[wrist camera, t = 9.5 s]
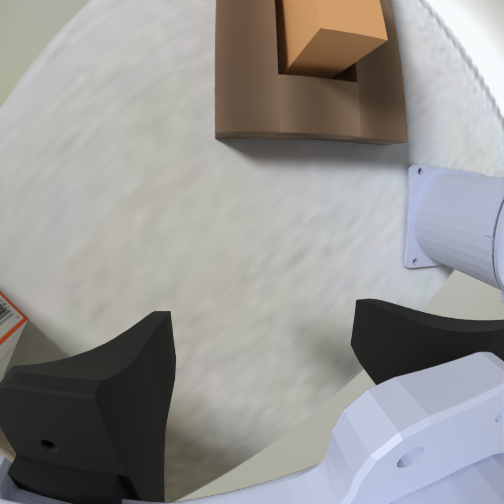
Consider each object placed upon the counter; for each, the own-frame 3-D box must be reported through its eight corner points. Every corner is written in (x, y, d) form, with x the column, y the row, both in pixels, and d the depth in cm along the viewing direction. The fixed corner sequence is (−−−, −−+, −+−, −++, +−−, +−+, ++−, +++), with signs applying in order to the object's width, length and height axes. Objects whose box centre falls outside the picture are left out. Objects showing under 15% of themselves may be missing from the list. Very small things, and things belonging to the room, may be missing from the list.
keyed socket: (364, -23, 17) (379, -40, 14) (384, 145, 21) (406, 142, 18) (217, -43, 15) (219, -65, 13) (215, 138, 19) (216, 131, 16)
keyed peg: (320, 1, 17) (363, -55, 10) (330, 80, 19) (387, 40, 11) (274, -4, 17) (303, -68, 9) (281, 77, 19) (320, 28, 11)
